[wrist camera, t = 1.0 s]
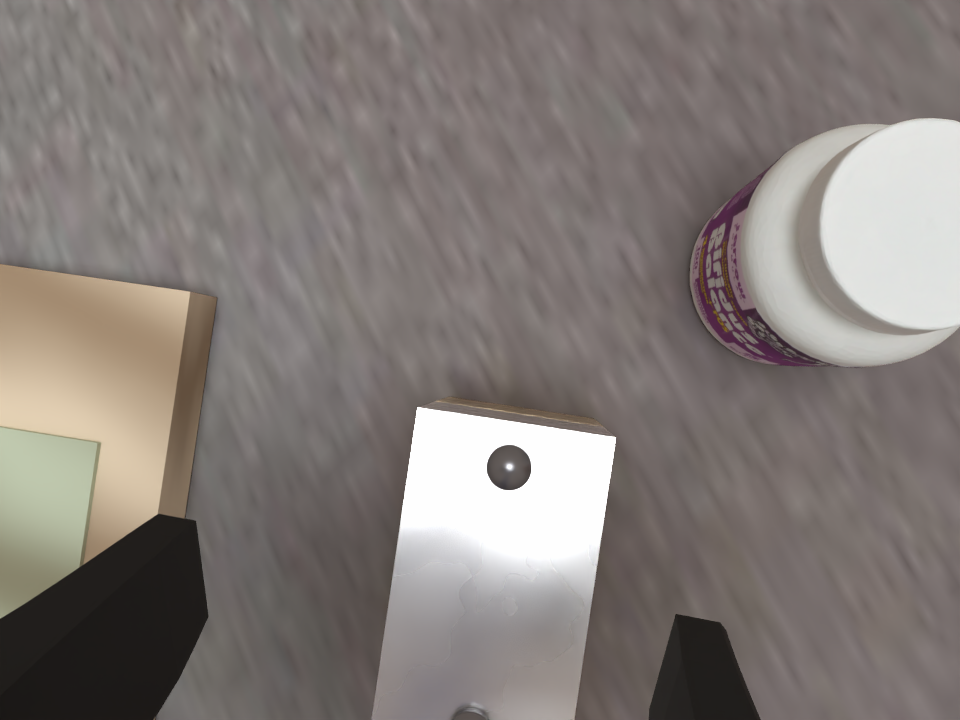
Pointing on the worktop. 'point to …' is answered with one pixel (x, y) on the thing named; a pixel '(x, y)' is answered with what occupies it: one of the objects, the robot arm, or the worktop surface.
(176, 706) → the worktop surface
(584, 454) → the block
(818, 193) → the pill bottle
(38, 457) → the birch stand
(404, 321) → the worktop surface
